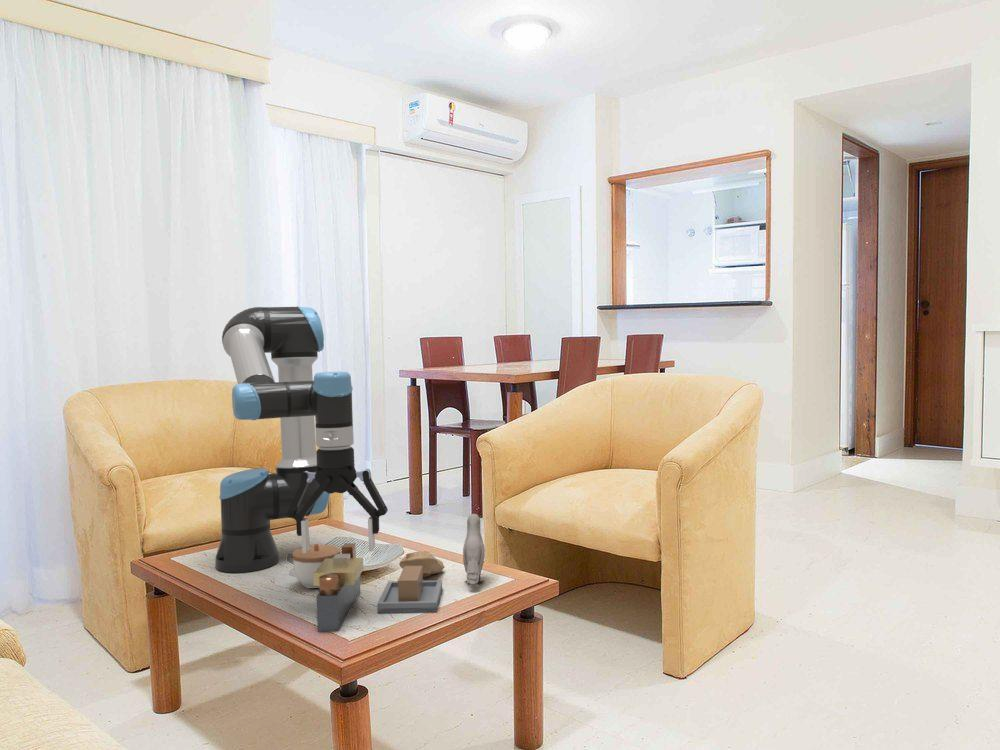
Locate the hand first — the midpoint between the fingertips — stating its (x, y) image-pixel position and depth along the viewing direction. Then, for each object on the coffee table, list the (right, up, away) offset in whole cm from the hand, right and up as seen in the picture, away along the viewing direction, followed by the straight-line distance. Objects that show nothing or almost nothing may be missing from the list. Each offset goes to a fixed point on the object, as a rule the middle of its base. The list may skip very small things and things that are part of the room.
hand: (338, 550), depth 153 cm
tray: (+14, -12, +6) cm, 20 cm away
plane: (0, -13, +1) cm, 13 cm away
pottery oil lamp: (+16, -12, +21) cm, 29 cm away
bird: (+27, -11, +17) cm, 34 cm away
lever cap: (0, -6, +1) cm, 6 cm away
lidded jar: (-9, -12, +18) cm, 23 cm away
